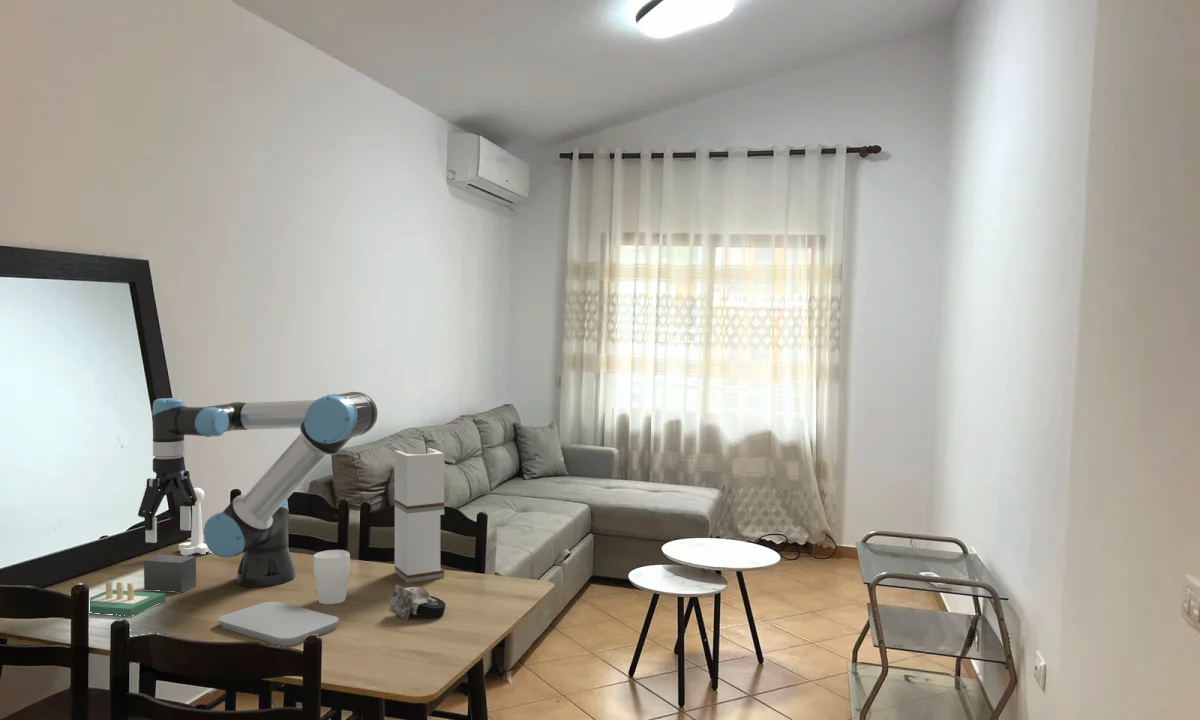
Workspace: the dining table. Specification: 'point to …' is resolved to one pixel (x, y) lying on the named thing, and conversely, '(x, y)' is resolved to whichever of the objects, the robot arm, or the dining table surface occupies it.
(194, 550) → the joystick
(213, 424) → the robot arm
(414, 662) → the dining table surface
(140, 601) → the board
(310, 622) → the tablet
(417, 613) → the caster wheel
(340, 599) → the cup
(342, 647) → the dining table surface
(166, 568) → the block
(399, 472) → the white striped vase
